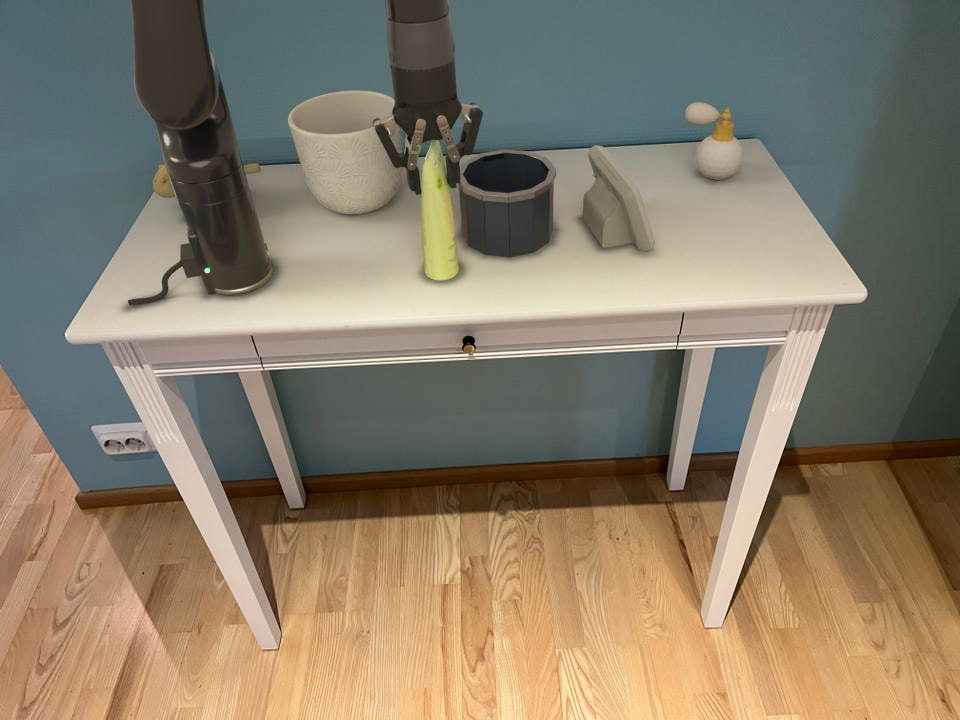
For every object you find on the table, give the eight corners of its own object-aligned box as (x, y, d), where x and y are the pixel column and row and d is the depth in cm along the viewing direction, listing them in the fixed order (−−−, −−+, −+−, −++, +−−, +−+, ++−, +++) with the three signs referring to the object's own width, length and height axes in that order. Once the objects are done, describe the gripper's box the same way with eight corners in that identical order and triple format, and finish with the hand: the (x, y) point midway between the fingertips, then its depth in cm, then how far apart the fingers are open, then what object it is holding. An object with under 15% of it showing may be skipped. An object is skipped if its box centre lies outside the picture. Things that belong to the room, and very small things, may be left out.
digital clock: (656, 256, 105) (665, 189, 98) (593, 260, 105) (597, 193, 98) (634, 200, 117) (641, 137, 110) (578, 204, 117) (581, 141, 110)
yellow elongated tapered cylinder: (468, 275, 104) (460, 145, 91) (437, 288, 102) (424, 157, 89) (447, 257, 107) (436, 130, 95) (417, 269, 106) (402, 141, 93)
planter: (384, 234, 113) (370, 140, 103) (288, 219, 118) (266, 129, 108) (425, 182, 125) (416, 94, 115) (336, 171, 130) (320, 86, 120)
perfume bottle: (745, 184, 120) (760, 113, 112) (686, 189, 119) (697, 117, 112) (730, 163, 125) (743, 94, 117) (674, 168, 125) (683, 98, 117)
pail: (476, 265, 106) (472, 203, 99) (451, 218, 116) (446, 159, 109) (567, 247, 108) (569, 185, 101) (535, 202, 118) (535, 143, 112)
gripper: (472, 36, 89) (478, 167, 100) (355, 53, 86) (376, 185, 97) (490, 56, 83) (495, 192, 95) (366, 75, 81) (386, 212, 92)
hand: (434, 188), depth 96 cm, fingers closed on yellow elongated tapered cylinder, 4 cm apart
